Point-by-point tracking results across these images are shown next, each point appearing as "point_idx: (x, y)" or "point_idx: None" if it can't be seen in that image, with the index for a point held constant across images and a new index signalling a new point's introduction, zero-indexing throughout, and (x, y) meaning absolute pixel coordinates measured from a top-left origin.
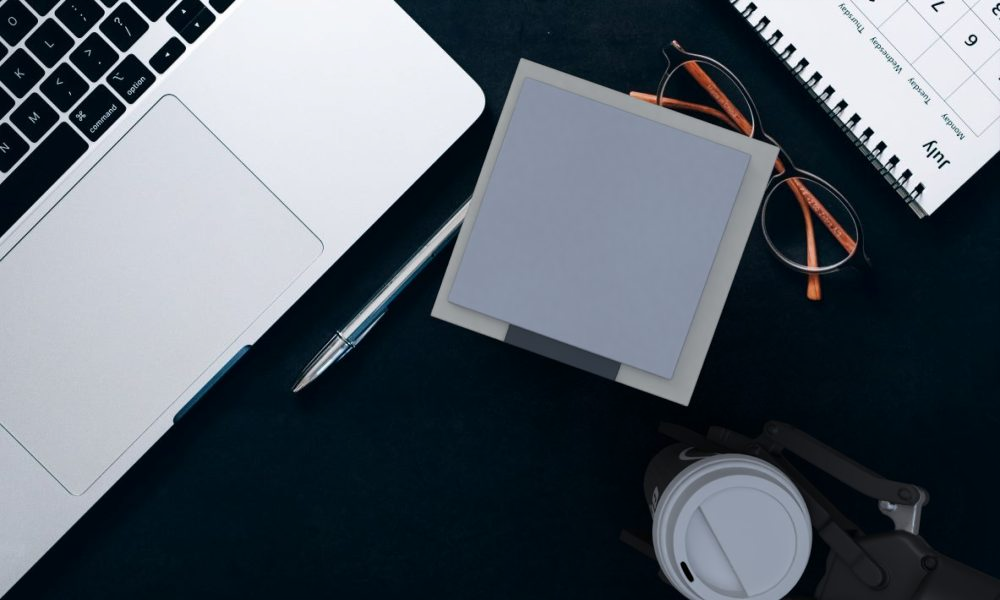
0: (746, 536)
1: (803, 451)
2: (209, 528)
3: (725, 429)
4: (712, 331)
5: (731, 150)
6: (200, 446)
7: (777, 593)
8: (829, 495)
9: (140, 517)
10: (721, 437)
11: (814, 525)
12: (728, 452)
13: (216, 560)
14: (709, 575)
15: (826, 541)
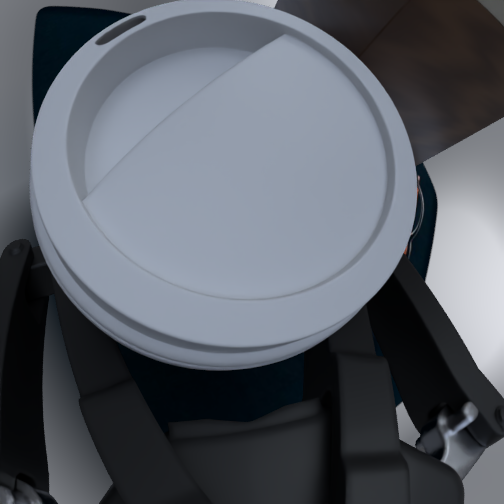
0: (269, 130)
1: (400, 269)
2: (64, 36)
3: None
4: None
5: None
6: (108, 18)
7: (126, 287)
8: (216, 408)
9: (69, 16)
10: None
11: (331, 341)
12: None
13: (48, 45)
14: (110, 122)
15: (342, 373)
